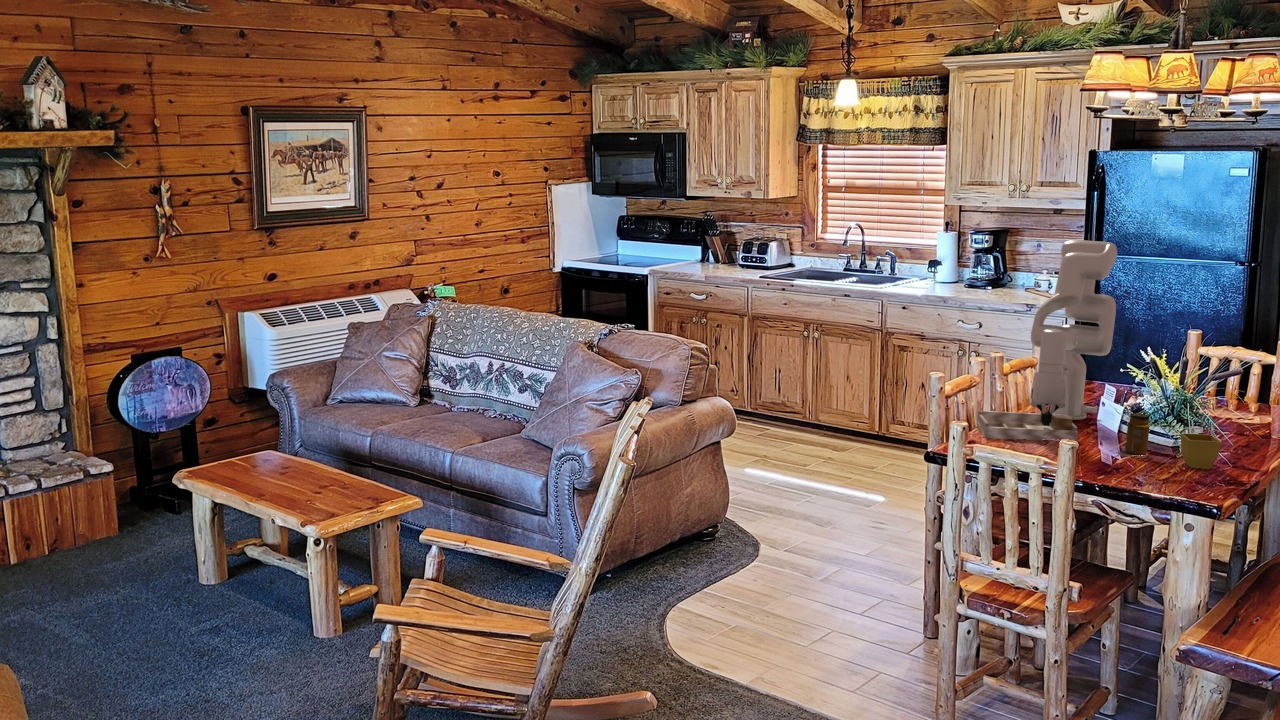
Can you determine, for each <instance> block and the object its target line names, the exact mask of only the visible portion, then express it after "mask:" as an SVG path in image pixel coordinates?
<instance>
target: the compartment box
mask: <svg viewBox="0 0 1280 720" xmlns="http://www.w3.org/2000/svg"><path fill="white" fill-rule="evenodd" d="M1054 415H1062V414H1054ZM976 419H977V422H976V428H977V429H978V431H979V432H980V433H981V435H982V436H983V437H984V438H985V439H997V440H999V439H1000V440H1001V439H1002V440H1016V439H1026V440H1025V441H1037V440H1042V439H1045V440H1046V439H1047V440H1050V439H1055V440H1057V439H1059V440H1061V439H1069V440H1075V441H1077V442H1078V436H1079V431H1078V427H1077V426H1076V425H1075V423H1073V422H1072V427H1071V430H1054V429H1053V428H1052V427H1051V423H1050V425H1049V426H1047V425H1046V426H1044V425H1043V424H1042V423H1041V413H1036V412H1034V413H1033V412H1015V411H1014V412H1013V411H997V410H996V411H995V410H994V411H993V410H992V411H991V410H978V411H977V418H976ZM1058 442H1059V441H1058ZM1059 443H1060V442H1059Z"/></svg>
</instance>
